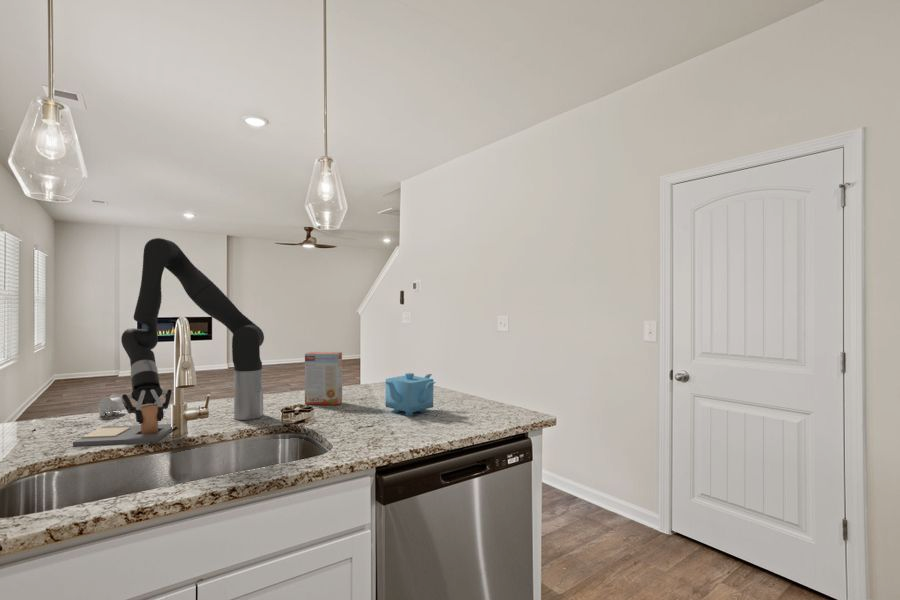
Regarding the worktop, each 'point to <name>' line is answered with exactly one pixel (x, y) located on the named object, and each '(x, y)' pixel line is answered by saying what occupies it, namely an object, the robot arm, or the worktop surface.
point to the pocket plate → (122, 435)
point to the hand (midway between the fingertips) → (150, 420)
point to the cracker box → (323, 378)
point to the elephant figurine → (110, 405)
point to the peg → (149, 419)
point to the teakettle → (409, 393)
